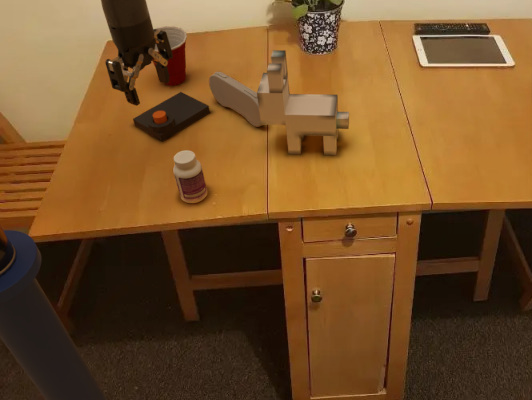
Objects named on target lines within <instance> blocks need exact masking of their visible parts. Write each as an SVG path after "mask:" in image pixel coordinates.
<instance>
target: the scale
mask: <svg viewBox="0 0 532 400" xmlns="http://www.w3.org/2000/svg"><path fill="white" fill-rule="evenodd" d="M156 111H164V112H165V113H166V116H167V121H166V122H165V123H162V124H156V123H155V122H154V119H153V113H155V112H156ZM210 113H211V111H210V106H209V104H206V103H204V102H202V101H200V100H198V99H196V98H195V97H193V96H190V95H188V94H187V93H185V92H182V91H180V92H178V93H176V94H174V95H173V96H170V97H169V98H167V99H166V100H163V101H162V102H160V103H158V104H156V105H155V106H153V107H151V108H149V109H148V110H146V111H143V112H142V113H141V114H138V115H137V116H135V117H134V118H132V120H133V124H134V127H136V128H138V129H140V130H142V131H143V132H145V133H147V134H148V135H150V136H152V137H153V138H155V139H157V140H159V141H160V142H165V141H166V140H168V139H169V138H171V137H172V136H174V135H176V134H178V133H179V132H181V131H182V130H184V129H186V128H188V127H189V126H191V125H192V124H194V123H195V122H197V121H199V120H200V119H202V118H204V117H205V116H207V115H208V114H210Z"/></svg>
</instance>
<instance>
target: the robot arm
mask: <svg viewBox="0 0 532 400" xmlns="http://www.w3.org/2000/svg"><path fill="white" fill-rule="evenodd" d="M100 2H101V3H100V4H101V8H102V11H103V15H104V18H105V21H106V23H107V27H108V30H109V34H110V37H111V39H112V43H113V44H114V46H115V47H116V49H117V56H116V57H114V58H112V59H110V58H107V59H106V60H105V67H106V70H107V74H108V78H109V81H110V85H111V88H112V89H113V90H115V91H120V92H122V93H124V96H125V99H126V102H127V103H128V104H130V105H133V106H139V105H140V104H141V101H140V98H139V94H138V91H137V88H136V87H135V85H136V80H137V79H138V78H139V76H140V73H141V72H140V71H142V70H143V69H144V68H145V67H146V66H149V65H151V64H152V63H153V62H154V63H156V65H154V68H155V71H156V74H157V78H158V81H159V82H160V83H162V84H164V83H165V84H167V83H168V82H169V72H168V68H167V64H168V60H169V59H172V58H173V53H172V50H171V47H170V43H169V40H168V37H167V34H166V32H165V31H162V30H158V29H156V28H154V26H153V23H152V22H153V21H152V19H151V15H150V11H149V8H148V4H147V3H148V2H147V0H100ZM153 29H154V30H153ZM155 45H157V48H158V51H159V53H157V52H156V51H155ZM164 49H165V50H164ZM154 63H153V64H154ZM129 69H131V70H132V71H129ZM165 84H164V85H165ZM16 258H17V252H16V250H15V248H14V246H13V245H12V244H11V242H10V241H9V239H8V238H7V236H6V234H5V233H4V229H3V228H2V226H1V225H0V277H1V276H3V275H4V274H5V273H7V272H8V271H9V270H10V269H11V268H12V266H13V265H14V263H15V261H16Z"/></svg>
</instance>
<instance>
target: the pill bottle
mask: <svg viewBox="0 0 532 400" xmlns="http://www.w3.org/2000/svg"><path fill="white" fill-rule="evenodd" d="M173 163H174V166H173V169H172V170H173V171H172V172H173V175H174V179H175V182H176V186H177V189H178V192H179V196H180V199H181V200H182V201H183V202H185V203H187V204H197V203H200V202H201V201H203V200H205V198H207V195H208V188H207V187H208V186H207V183H206V179H205V175H204V170H203V167H202V164H201V161H199V160H198V159H197V157H196V153H195V152H194V151H192V150H188V149H185V150H181V151H177V152H176V154H174V156H173Z"/></svg>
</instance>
